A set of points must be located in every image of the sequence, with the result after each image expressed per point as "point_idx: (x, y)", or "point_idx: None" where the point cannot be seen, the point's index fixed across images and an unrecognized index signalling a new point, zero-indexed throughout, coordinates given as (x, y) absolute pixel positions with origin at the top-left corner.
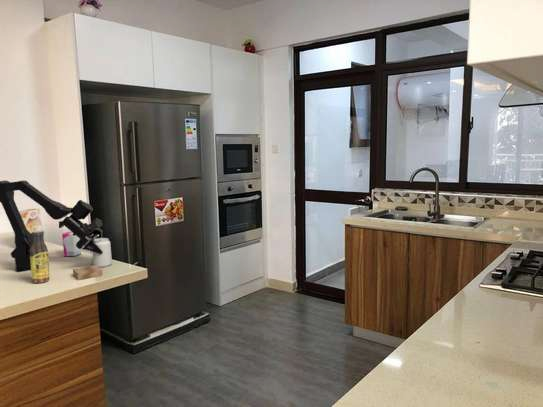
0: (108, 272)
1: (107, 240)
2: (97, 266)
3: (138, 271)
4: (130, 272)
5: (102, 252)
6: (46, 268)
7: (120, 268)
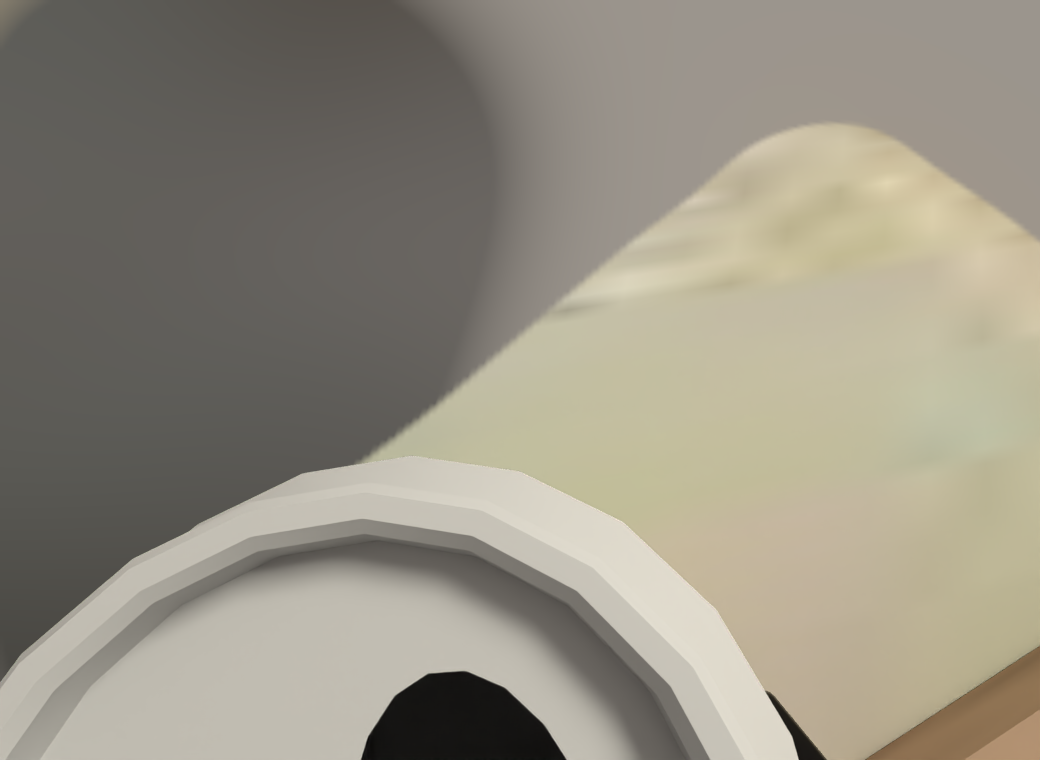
0: (938, 525)
1: (469, 524)
2: (1009, 735)
3: (895, 153)
4: (940, 229)
5: None
6: None
7: (722, 389)
